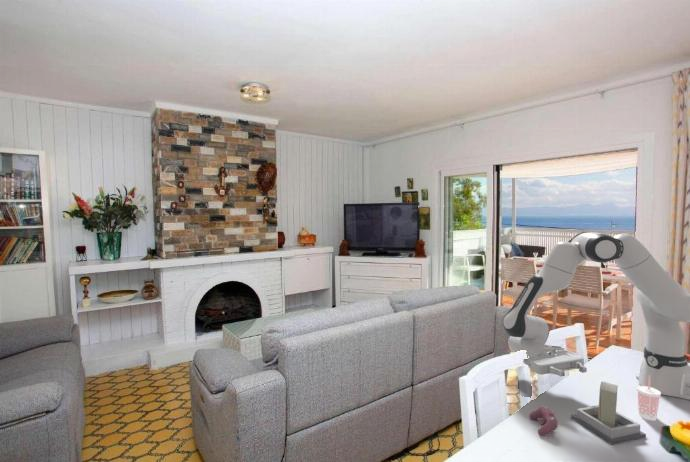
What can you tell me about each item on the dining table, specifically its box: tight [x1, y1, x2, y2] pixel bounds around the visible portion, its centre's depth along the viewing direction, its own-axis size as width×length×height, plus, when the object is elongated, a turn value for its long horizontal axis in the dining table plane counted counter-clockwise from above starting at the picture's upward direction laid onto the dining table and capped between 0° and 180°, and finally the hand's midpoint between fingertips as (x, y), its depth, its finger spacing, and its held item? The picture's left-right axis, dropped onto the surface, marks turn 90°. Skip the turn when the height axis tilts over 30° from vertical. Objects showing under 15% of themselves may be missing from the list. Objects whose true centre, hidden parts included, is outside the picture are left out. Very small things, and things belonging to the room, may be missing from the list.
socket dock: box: [570, 404, 647, 445], centre depth 115 cm, size 13×14×4 cm
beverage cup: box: [636, 375, 662, 421], centre depth 121 cm, size 6×6×14 cm
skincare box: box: [598, 381, 619, 428], centre depth 115 cm, size 6×4×12 cm
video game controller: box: [528, 405, 559, 436], centre depth 115 cm, size 10×5×7 cm, turn 170°
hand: (574, 372), depth 127 cm, fingers open, 8 cm apart
